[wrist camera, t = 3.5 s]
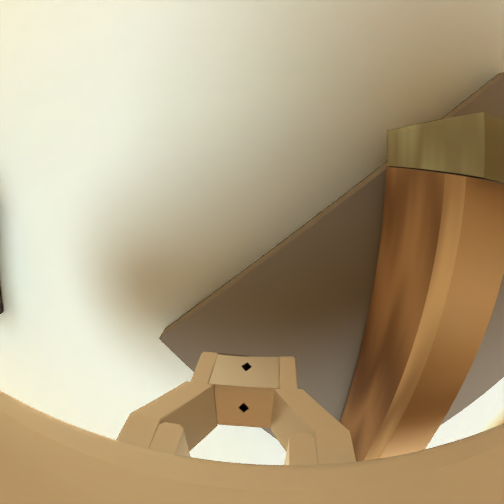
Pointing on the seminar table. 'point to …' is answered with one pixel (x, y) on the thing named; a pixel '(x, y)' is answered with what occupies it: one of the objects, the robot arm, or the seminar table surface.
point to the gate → (429, 281)
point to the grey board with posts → (325, 296)
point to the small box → (0, 309)
